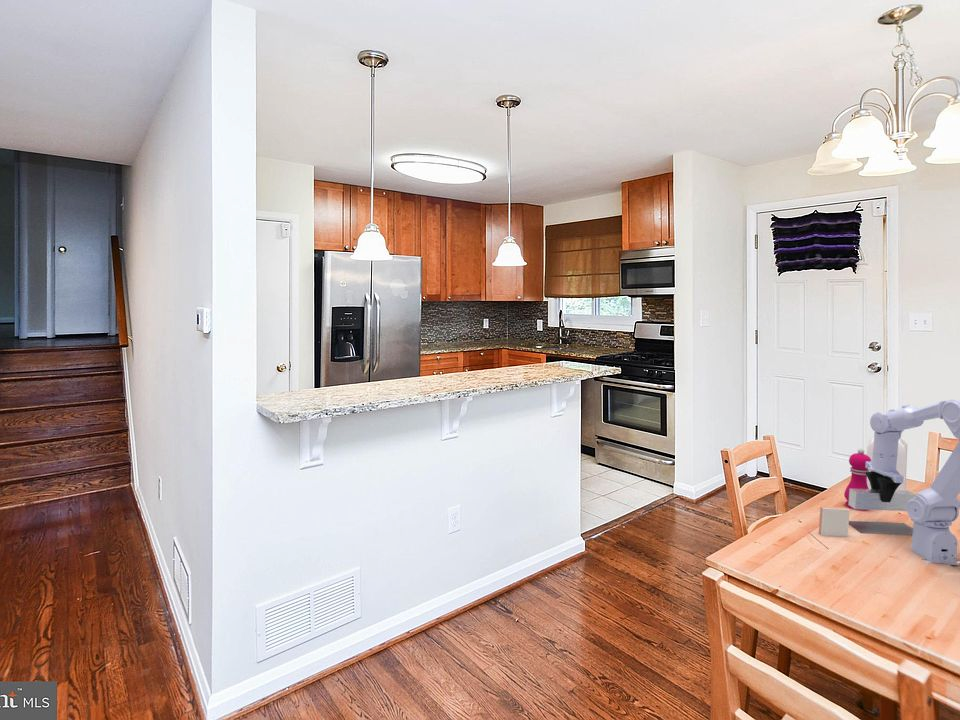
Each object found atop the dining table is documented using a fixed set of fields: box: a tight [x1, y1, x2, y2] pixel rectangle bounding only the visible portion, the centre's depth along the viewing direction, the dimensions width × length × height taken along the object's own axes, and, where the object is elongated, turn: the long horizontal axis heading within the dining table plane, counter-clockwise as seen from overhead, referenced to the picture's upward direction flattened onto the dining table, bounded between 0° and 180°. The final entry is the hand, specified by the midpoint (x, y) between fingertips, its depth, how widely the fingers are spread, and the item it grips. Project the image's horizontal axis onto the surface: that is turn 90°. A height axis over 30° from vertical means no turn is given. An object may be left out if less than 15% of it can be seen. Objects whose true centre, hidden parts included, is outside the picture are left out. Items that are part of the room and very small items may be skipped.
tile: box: [818, 506, 851, 537], centre depth 157 cm, size 2×7×8 cm, turn 84°
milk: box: [866, 435, 908, 490], centre depth 188 cm, size 12×12×26 cm
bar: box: [848, 489, 917, 512], centre depth 162 cm, size 4×16×5 cm, turn 84°
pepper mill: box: [843, 448, 872, 512], centre depth 178 cm, size 7×7×20 cm
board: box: [849, 520, 913, 536], centre depth 162 cm, size 9×17×1 cm, turn 84°
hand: (881, 499), depth 162 cm, fingers closed on bar, 3 cm apart
